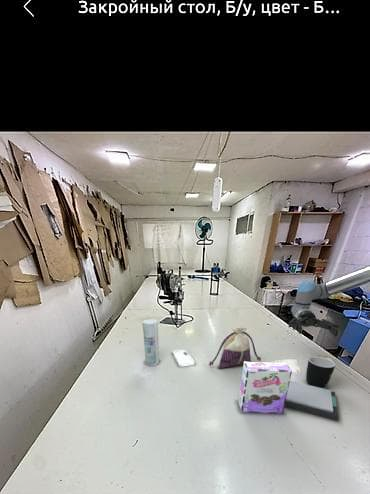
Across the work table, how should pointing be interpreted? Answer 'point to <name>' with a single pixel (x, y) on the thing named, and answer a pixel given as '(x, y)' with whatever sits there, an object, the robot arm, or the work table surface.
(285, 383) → the candy box
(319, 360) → the mug
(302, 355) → the work table surface
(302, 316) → the robot arm
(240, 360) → the pouch
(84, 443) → the work table surface
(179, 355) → the phone case
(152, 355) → the spray can
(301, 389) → the scale
